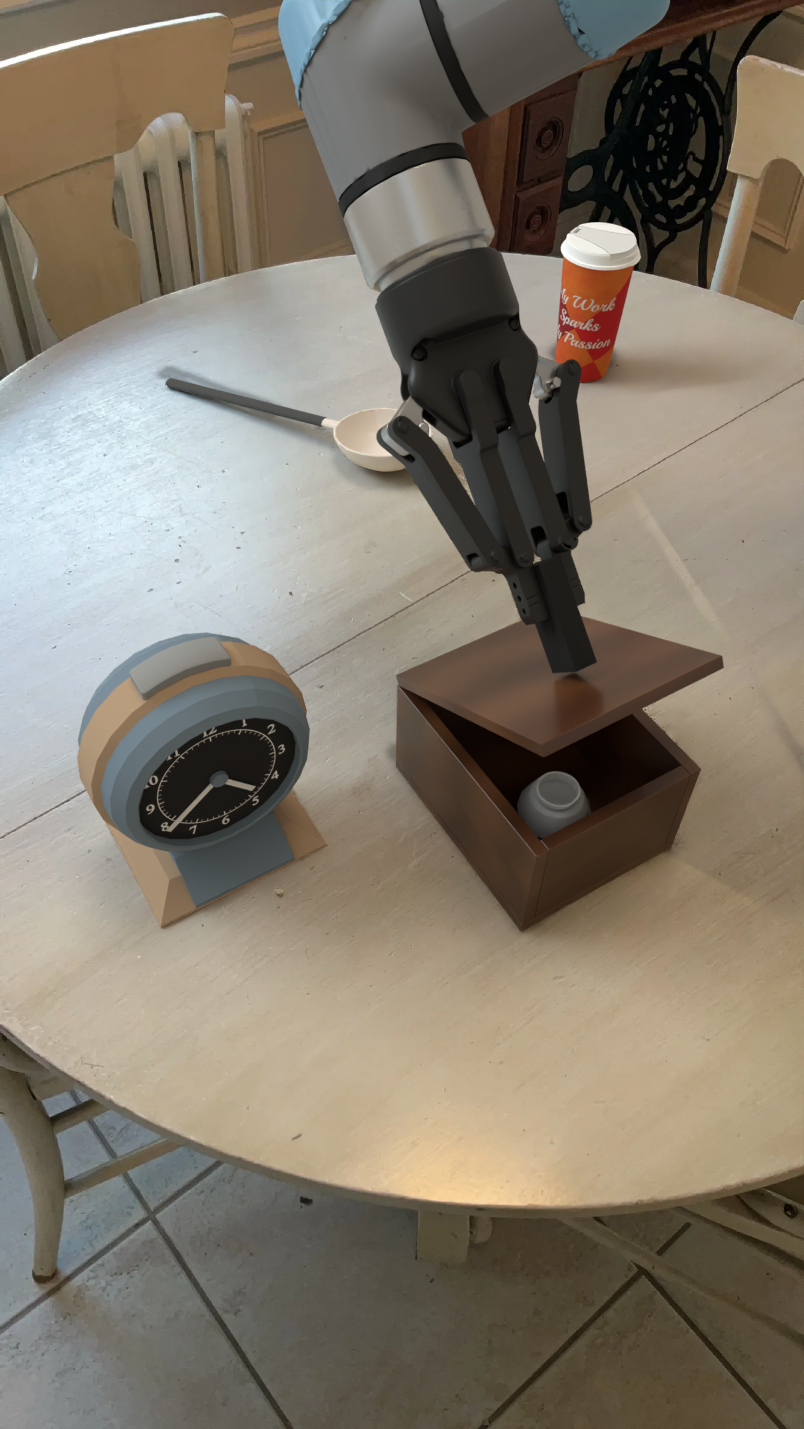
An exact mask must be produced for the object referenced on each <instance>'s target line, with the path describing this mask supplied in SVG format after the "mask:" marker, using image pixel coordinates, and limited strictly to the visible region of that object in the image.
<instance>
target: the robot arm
mask: <svg viewBox="0 0 804 1429" xmlns="http://www.w3.org/2000/svg"><path fill="white" fill-rule="evenodd" d="M670 4H671V0H282V3H281V5H280V8H279V13H278V19H277V20H278V21H277V22H278V23H277V27H278V34H279V39H280V42H281V45H282V49H283V52H284V55H285V58H286V62H287V65H288V68H289V72H290V75H291V78H292V81H293V85H294V88H295V89H294V93H295V97H296V102H297V104H298V108H299V110H300V111H302V112H303V116H304V118H305V120H306V124H307V126H308V128H309V131H310V133H311V136H312V139H313V142H314V144H315V147H316V148H317V151H318V154H319V156H320V160H321V162H322V165H323V167H324V170H325V172H326V175H327V179H328V181H329V183H330V186H331V188H332V191H333V194H334V196H335V198H336V202H337V204H338V208H339V211H340V213H341V216H342V219H343V220H342V221H343V223H344V225H345V228H346V231H347V233H348V236H349V240H350V242H351V244H352V247H353V250H354V253H355V256H356V258H357V262H358V264H359V267H360V270H361V272H362V275H363V277H364V281H365V283H366V286H367V287H368V288H369V290H372V291H375V292H377V293H379V294H378V295H377V298H376V302H375V304H374V309H375V311H376V315H377V317H378V320H379V323H380V325H381V328H382V330H383V333H384V336H385V340H386V342H387V344H388V347H389V350H390V353H391V355H392V358H393V360H394V361H395V362H396V364H397V366H398V367H399V370H400V386H399V391H400V397H401V400H402V401H403V402H402V403H401V404H400V405H399V407H398V408H397V409H398V410H397V412H396V413H395V415H394V416H393V418H392V419H391V421H390V422H389V423H387V424H386V425H384V426H383V427H381V428H380V429H379V430H378V432H377V434H376V439H377V442H378V443H379V445H380V446H381V447H383V448H384V449H385V450H386V451H387V452H389V453H390V454H391V455H392V456H393V457H395V458H396V459H397V460H398V461H400V462H401V463H402V464H403V465H404V466H405V468H404V469H406V471H407V473H408V474H409V476H410V477H411V479H412V480H413V483H414V484H415V485H416V487H417V488H418V490H419V492H420V494H421V495H422V496H423V498H424V500H425V501H426V503H427V504H428V506H429V507H430V509H431V511H432V512H433V514H434V515H435V517H436V518H437V521H438V522H439V523H440V525H441V527H442V528H443V530H444V531H445V533H446V534H447V536H448V538H449V539H450V540H451V542H452V544H453V545H454V547H455V549H456V551H457V552H458V554H459V555H460V556H461V558H462V560H463V561H464V564H466V566H467V567H468V569H469V570H470V571H471V572H473V573H481V572H490V573H491V572H494V574H497V575H502V576H503V577H504V578H505V581H506V583H507V586H508V588H509V591H510V592H511V593H510V594H511V596H512V599H513V602H514V605H515V607H516V610H517V613H518V616H519V618H520V621H521V620H522V621H523V622H524V623H525V625H530V624H535V625H536V628H537V631H538V634H539V637H540V639H541V642H542V645H543V648H544V651H545V653H546V656H547V659H548V662H549V665H550V667H551V670H552V673H565V672H577V671H579V670H582V669H584V668H586V667H588V666H590V665H592V664H594V663H597V660H596V657H595V655H594V652H593V649H592V646H591V643H590V640H589V637H588V635H587V632H586V629H585V626H584V623H583V620H582V617H581V616H582V614H581V612H580V609H579V606H581V605H583V604H586V593H585V590H584V587H583V585H582V581H581V579H580V576H579V573H578V570H577V567H576V564H575V560H574V558H573V554H572V551H574V550H575V549H576V548H577V547H578V546H579V542H580V541H579V537H581V535H582V534H583V533H584V532H587V531H589V530H590V529H592V526H593V515H592V507H591V499H590V492H589V484H588V477H587V469H586V463H585V462H586V461H585V455H584V445H583V439H582V438H583V437H582V431H581V424H580V416H579V408H578V401H577V400H578V395H579V390H580V384H581V382H580V378H581V366H580V364H579V363H578V362H577V361H576V360H574V359H570V360H567V361H565V362H564V363H562V364H561V363H558V362H556V360H553V359H549V358H547V357H544V356H542V355H539V351H538V348H537V345H536V344H535V343H534V341H533V340H532V339H531V338H530V337H529V336H528V334H526V333H527V332H525V330H524V328H523V327H522V324H521V318H520V317H521V316H520V302H519V300H518V297H517V294H516V291H515V288H514V285H513V282H512V279H511V276H510V273H509V271H508V268H507V265H506V262H505V258H504V256H503V253H502V252H501V251H498V250H497V249H496V248H494V247H491V246H490V245H491V243H492V241H493V239H494V237H495V233H496V230H495V228H494V225H493V221H492V219H491V216H490V214H489V211H488V208H487V205H486V203H485V200H484V197H483V194H482V191H481V188H480V186H479V183H478V181H477V177H476V175H475V172H474V170H473V166H472V165H471V160H470V157H469V155H468V152H467V150H466V148H465V142H464V139H463V135H462V133H463V132H464V131H466V130H467V129H469V128H471V127H473V126H474V125H476V124H479V123H481V122H483V121H485V120H486V119H487V120H488V119H489V118H490V117H492V116H494V115H495V114H497V113H500V112H501V111H503V110H505V109H507V108H509V107H510V106H513V105H515V104H516V103H519V102H520V101H522V100H525V99H526V98H528V97H530V96H532V95H535V93H537V92H539V91H541V90H543V89H545V88H547V87H549V86H551V85H553V84H555V83H557V82H558V81H560V80H562V79H564V78H566V77H568V76H570V75H572V74H574V73H576V72H577V71H580V70H581V69H583V68H585V67H587V66H589V65H591V64H593V63H595V62H597V61H603V60H605V59H609V58H610V57H612V56H614V55H615V54H616V53H617V51H618V50H619V49H620V48H622V47H623V46H625V45H626V44H628V43H631V41H633V40H635V39H636V38H638V37H639V36H641V35H642V34H644V33H645V32H647V31H648V30H650V29H651V28H653V27H656V26H657V25H658V24H659V23H660V22H661V21H662V20H663V19H664V17H665V16H666V14H667V12H668V10H669V8H670ZM531 396H533V397H534V398H535V399H538V404H537V417H538V427H539V433H540V440H541V448H542V453H541V449H540V446H539V443H538V441H537V437H536V432H537V423H536V420H535V417H534V414H533V411H532V408H531V406H530V400H531ZM423 419H424V420H425V421H426V422H428V423H429V424H430V425H431V427H433V428H434V429H435V430H437V431H438V432H439V433H440V434H441V435H443V436H444V437H445V438H446V439H447V442H448V445H449V448H450V451H451V453H452V456H453V459H454V460H455V462H456V463H458V464H459V465H460V467H461V469H462V473H463V476H464V478H465V481H466V483H467V486H468V489H469V492H470V494H471V496H470V495H469V492H468V491H467V489H466V488H465V486H464V485H463V484H462V482H461V480H460V479H459V477H458V475H457V473H456V472H455V470H454V468H453V467H452V466H451V464H450V462H449V461H448V459H447V458H446V456H445V454H444V452H443V451H442V450H441V448H440V446H439V445H438V444H437V443H436V441H435V440H434V439H433V437H432V438H431V437H430V436H429V425H428V424H427V423H426V422H425V421H424V420H423ZM536 557H537V558H539V559H540V560H538V561H535V560H536Z"/></svg>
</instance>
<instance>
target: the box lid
mask: <svg viewBox="0 0 804 1429" xmlns="http://www.w3.org/2000/svg"><path fill="white" fill-rule="evenodd" d="M581 617H582V620H583V623H584V626H585V629H586V632H587V635H588V637H589V640H590V643H591V646H592V649H593V652H594V655H595V657H596V660H597V663H594V664H592V665H590V666H588V667H586V668H584V669H582V670H579V671H577V672H565V673H552V670H551V667H550V665H549V662H548V659H547V656H546V653H545V651H544V648H543V645H542V642H541V639H540V637H539V634H538V631H537V628H536V625H535V624H530V625H525V623H524V622H523V621H522V620H521V619H520V620H518V621H516V622H514V623H512V624H510V625H508V626H505V627H503V628H500V629H498V630H496V631H494V632H491V633H488V634H487V635H483V636H482V637H480V638H477V639H474V640H473V641H470V642H468V643H466V644H464V645H462V646H459V647H457V648H454V649H452V650H449V651H448V652H445V653H443V654H441V655H438V656H436V657H434V658H431V659H430V660H427V661H425V662H422V663H420V664H417V665H416V666H413V667H411V668H409V669H406V670H404V671H401V672H399V673H397V674H395V678H396V681H397V685H399V686H401V687H403V688H405V689H407V690H409V691H411V692H413V693H415V694H417V695H419V696H421V697H423V698H425V699H427V700H429V701H431V702H433V703H435V704H437V705H439V706H441V707H443V708H445V709H447V710H449V711H451V712H453V713H455V714H457V715H459V716H461V717H463V718H465V719H467V720H469V721H471V722H473V723H475V724H477V725H479V726H482V727H484V728H486V729H488V730H490V731H492V732H494V733H496V734H498V735H500V736H502V737H504V738H506V739H508V740H510V741H512V742H514V743H516V744H518V745H520V746H522V747H524V748H526V749H528V750H530V751H532V752H534V753H536V754H538V755H540V756H542V757H546V756H548V755H550V754H552V753H554V752H556V751H558V750H560V749H562V748H564V747H566V746H568V745H570V744H572V743H574V742H576V741H578V740H580V739H582V738H584V737H586V736H588V735H590V734H592V733H594V732H596V731H598V730H600V729H602V728H604V727H606V726H608V725H610V724H612V723H614V722H616V721H618V720H620V719H622V718H624V717H626V716H628V715H630V714H632V713H634V712H636V711H638V710H640V709H645V708H646V707H649V706H650V705H652V704H654V703H657V702H659V701H661V700H663V699H665V698H667V697H668V696H670V695H673V694H674V693H677V692H678V691H680V690H683V689H685V688H687V687H689V686H690V685H693V684H695V683H698V682H699V681H701V680H702V679H705V678H707V677H709V676H711V675H713V674H715V673H717V672H719V671H721V670H723V669H724V668H725V664H724V658H723V655H721V654H718V653H715V652H710V651H707V650H703V649H700V648H696V647H692V646H689V645H686V644H682V643H679V642H675V641H672V640H667V639H666V638H665V639H664V638H661V637H657V636H654V635H651V634H647V633H643V632H640V631H636V630H633V629H630V628H625V627H622V626H619V625H615V624H611V623H607V622H604V621H600V620H598V619H594V618H590V617H586V616H584V615H581Z"/></svg>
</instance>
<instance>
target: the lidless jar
mask: <svg viewBox="0 0 804 1429" xmlns="http://www.w3.org/2000/svg"><path fill="white" fill-rule="evenodd" d="M517 809H518V814H519V816H520V817H521V818H522V819H523V820H524V822H525V823H526V824H527V825H528V826H529V828H530V829H531V830H532V831H533V833H534V834H535V835H536V836H537V837H540V838H545V837H547V836H549V835H551V834H553V833H555V832H557V831H559V830H560V829H562V828H564V827H566V826H568V825H570V824H572V823H574V822H576V821H577V820H579V819H581V818H583V817H585V816H587V815H589V814H591V808H590V802H589V800H588V798H587V797H586V795H585V793H584V792H583V790H582V789H581V787H580V785H579V783H578V782H577V780H576V779H575V778H574V777H572V776H571V775H569V774H567V773H564V772H559V771H553V772H548V773H546V774H544V775H542V776H541V777H539V778H538V779H536V780H535V781H533V782H532V783H531V784H529V785H528V786H527V787H526V788H525V789H524V790H523V791H522V792H521V795H520V797H519V800H518V803H517Z"/></svg>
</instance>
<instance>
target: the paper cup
mask: <svg viewBox="0 0 804 1429" xmlns="http://www.w3.org/2000/svg"><path fill="white" fill-rule="evenodd" d="M560 252H561V255H562V267H561V268H562V269H561V279H560V280H561V282H560V295H559V304H558V305H559V306H558V320H557V333H556V346H555V362H558V363H561V364H562V363H564V362H565V361H567V360H570V359H574V360H576V361H577V362H578V363H579V364H580V366H581V378H580V383H591V382H590V381H594V382H597V381H599V380H598V379H600V380H601V378H602V379H603V378H604V377H605V376H606V375H607V373H608V370H609V368H610V363H611V360H612V356H613V352H614V348H615V345H616V342H617V336H618V333H619V328H620V324H621V321H622V316H623V313H624V308H625V304H626V301H627V296H628V292H629V288H630V284H631V279H632V276H633V272H634V268H635V265H637V264H638V263H639V262H640V260H641V259H642V256H641V251H640V248H639V246H638V243H637V238H636V235H635V233H634V232H632V231H631V230H629V228H626V227H624V226H621V225H618V224H614V223H609V222H600V221H599V222H586V223H581V224H578V226H576V227H574V228H573V229H572V230H570V231H569V233H567V234H566V238H565V239H564V240H563V242H562V243H561V245H560ZM596 380H597V381H596Z"/></svg>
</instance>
